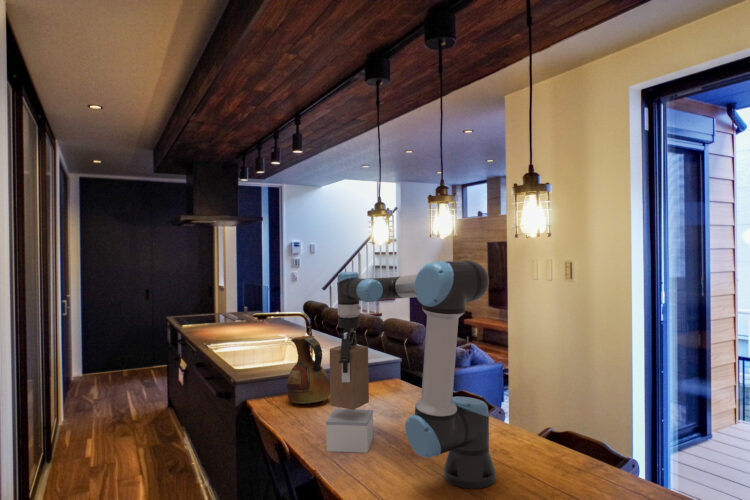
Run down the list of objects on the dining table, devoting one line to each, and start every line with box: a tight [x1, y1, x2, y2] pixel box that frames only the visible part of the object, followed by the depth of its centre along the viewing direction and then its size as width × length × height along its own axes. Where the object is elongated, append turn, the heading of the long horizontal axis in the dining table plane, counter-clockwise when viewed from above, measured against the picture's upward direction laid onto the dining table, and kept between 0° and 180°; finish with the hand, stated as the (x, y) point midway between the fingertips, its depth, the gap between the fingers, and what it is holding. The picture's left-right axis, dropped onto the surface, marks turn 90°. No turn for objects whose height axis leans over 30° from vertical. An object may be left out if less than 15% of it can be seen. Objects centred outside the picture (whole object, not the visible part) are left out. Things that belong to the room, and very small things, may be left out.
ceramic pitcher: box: [286, 335, 330, 404], centre depth 228 cm, size 20×20×30 cm
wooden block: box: [329, 344, 370, 410], centre depth 177 cm, size 10×10×20 cm
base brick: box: [325, 408, 374, 454], centre depth 177 cm, size 14×14×10 cm
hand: (349, 377), depth 177 cm, fingers closed on wooden block, 12 cm apart
